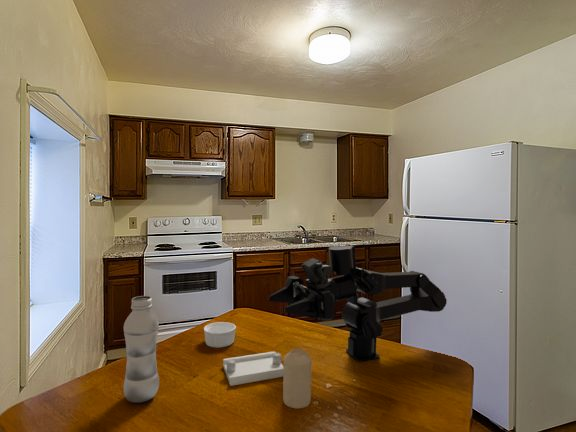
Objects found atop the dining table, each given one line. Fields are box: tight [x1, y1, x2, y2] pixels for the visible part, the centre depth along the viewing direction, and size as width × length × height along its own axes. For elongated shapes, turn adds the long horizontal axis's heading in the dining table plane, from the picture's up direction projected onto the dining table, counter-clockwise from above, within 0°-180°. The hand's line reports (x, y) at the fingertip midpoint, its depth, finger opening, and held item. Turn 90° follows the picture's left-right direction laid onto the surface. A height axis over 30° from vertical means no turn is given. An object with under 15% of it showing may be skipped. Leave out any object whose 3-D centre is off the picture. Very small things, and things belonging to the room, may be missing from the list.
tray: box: [222, 350, 284, 387], centre depth 77 cm, size 13×9×3 cm
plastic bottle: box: [122, 295, 160, 404], centre depth 65 cm, size 6×7×20 cm
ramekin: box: [203, 321, 237, 349], centre depth 93 cm, size 9×9×4 cm
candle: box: [282, 348, 313, 410], centre depth 65 cm, size 6×6×10 cm
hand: (276, 304), depth 75 cm, fingers open, 9 cm apart
